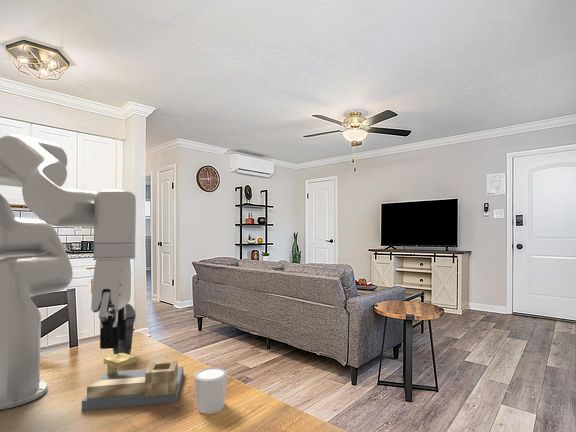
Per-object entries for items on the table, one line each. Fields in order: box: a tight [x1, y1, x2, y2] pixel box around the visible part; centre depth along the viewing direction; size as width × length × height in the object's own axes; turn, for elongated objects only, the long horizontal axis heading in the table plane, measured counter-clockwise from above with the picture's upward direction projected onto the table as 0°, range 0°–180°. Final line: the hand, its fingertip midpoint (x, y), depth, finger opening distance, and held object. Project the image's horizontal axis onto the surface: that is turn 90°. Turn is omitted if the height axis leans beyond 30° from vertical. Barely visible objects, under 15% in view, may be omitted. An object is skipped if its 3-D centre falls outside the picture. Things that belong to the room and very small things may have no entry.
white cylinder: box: [193, 367, 228, 415], centre depth 75 cm, size 7×7×7 cm
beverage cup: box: [112, 303, 137, 355], centre depth 105 cm, size 7×7×20 cm
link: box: [86, 360, 179, 398], centre depth 77 cm, size 18×6×5 cm, turn 101°
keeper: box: [103, 353, 137, 375], centre depth 86 cm, size 7×5×6 cm
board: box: [81, 365, 185, 412], centre depth 82 cm, size 19×15×2 cm
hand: (113, 342), depth 69 cm, fingers open, 4 cm apart
